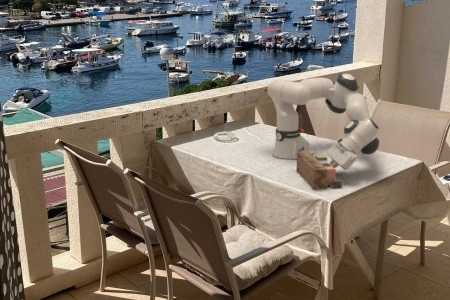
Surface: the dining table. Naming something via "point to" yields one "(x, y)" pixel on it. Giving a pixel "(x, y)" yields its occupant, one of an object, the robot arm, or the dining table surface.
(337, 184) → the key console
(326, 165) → the slate key
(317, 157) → the olive key
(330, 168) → the terracotta key
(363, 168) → the dining table surface
